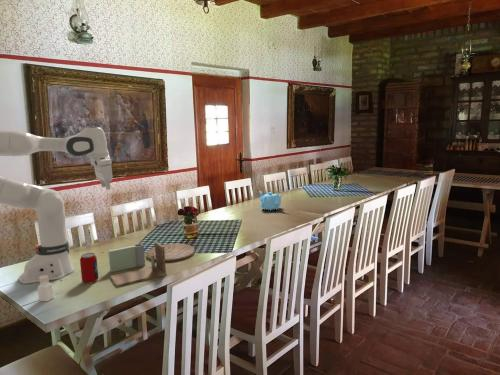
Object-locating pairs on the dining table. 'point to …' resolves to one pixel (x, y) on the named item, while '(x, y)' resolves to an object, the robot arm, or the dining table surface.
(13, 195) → the robot arm
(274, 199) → the teapot
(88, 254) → the beverage can
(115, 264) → the pale green grey block
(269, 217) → the dining table surface
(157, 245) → the cabinet base
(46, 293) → the pepper shaker
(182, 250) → the trivet
